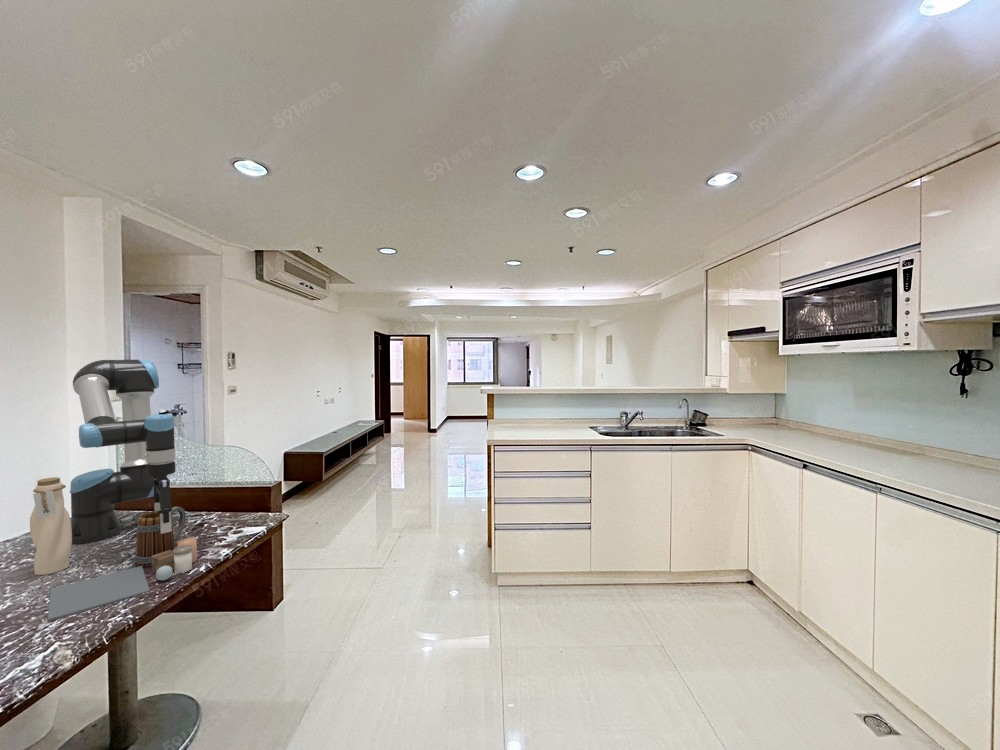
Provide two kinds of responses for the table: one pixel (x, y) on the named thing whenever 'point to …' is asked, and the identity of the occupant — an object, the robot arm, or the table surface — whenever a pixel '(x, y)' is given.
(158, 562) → the walnut block
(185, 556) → the jar
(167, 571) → the grey ball
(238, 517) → the table surface
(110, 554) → the table surface
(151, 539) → the mug
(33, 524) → the cream corked bottle
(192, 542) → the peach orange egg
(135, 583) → the slate pad
